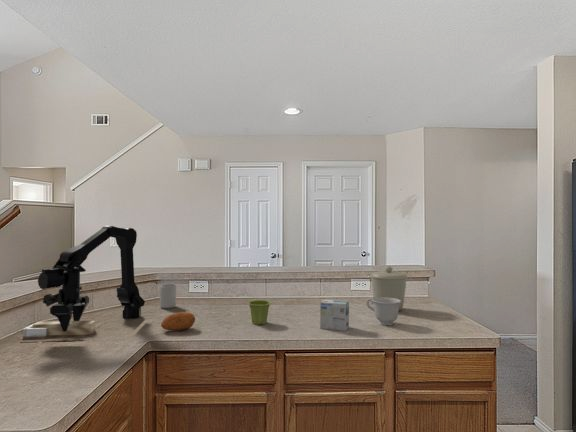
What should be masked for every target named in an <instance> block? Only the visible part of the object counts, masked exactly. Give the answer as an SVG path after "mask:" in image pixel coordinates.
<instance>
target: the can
mask: <svg viewBox="0 0 576 432" xmlns="http://www.w3.org/2000/svg"><path fill="white" fill-rule="evenodd" d="M159 290H160V292H159V295H160V296H159V306H160V308H161V309H165V310H166V309H174V308H175V306H176V305H177V304H176V303H177V302H176V301H177V285H176V283H175V282H163V283H161V285H160V287H159Z"/></svg>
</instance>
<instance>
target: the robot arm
mask: <svg viewBox="0 0 576 432" xmlns="http://www.w3.org/2000/svg"><path fill="white" fill-rule="evenodd" d="M137 237H138V234H137V230H136V229H134V228H132V227H117V226H114V225H104V226H103V227H101V229H99V230H97V232H95V233H94V234H92V235H91V236H89V237H88V238H87V239H86V240H84V241H82V242H81V243H80V244H78V245H76V246H73V247H70V248H68V249H65V250H64V251H62V252H61V253H60V254H59V258H58V260H57V261H56V262H55V264H54V265H53V266H52V268H49V269H48V268H42V269H41V273H40V274H39V276H38V278H37V284H38V287H39V289H41V290H47V289H54V288H59V289H58V293H56V294H51V293H48V294H45V295H43V299H42V303H43V304H45V305H46V307H50V308H49V314H50V315H52V316H54V317H56V318H57V319H58V320H57V321H59V322H60V325H61V328H62V330H63V332H66V331H67V329H68V326H69V323H70V321H81V318H82V316H83V314H84V312H85V310H86V308H87V307H88V304H89V303H90V297H89V296H88V295H81V290H83V287H82V286H81V273H83V272H84V273H85V272H86V269H85V268H84V267H83V266H82V265H83V263H85V261H86V260H87V258H88V256H89V254H91V252H93V251H95V249H97V248H99V246H101V245H102V244H103V243H104V242H106V241H107V240H108V239H110V238H113V239H115V242H116V244H117V246H118V248H119V250H120V252H119V253H120V265H121V266H120V268H121V269H120V270H121V271H120V272H121V273H120V274H121V284H120V287H116V298H117V299H118V301H119V302H120V303H119V304H120V305H121V306H122V307H123V309H122V319H126V320H132V319H139V318H141V316H142V307H144V306H145V302H146V301H145V299H144V298H143V297H142V296H141V295H140V291H139V288H138V285H137V284H136V282H135V264H134V247H135V245H136V243H137ZM60 287H61V288H60ZM51 305H52V306H51Z"/></svg>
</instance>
